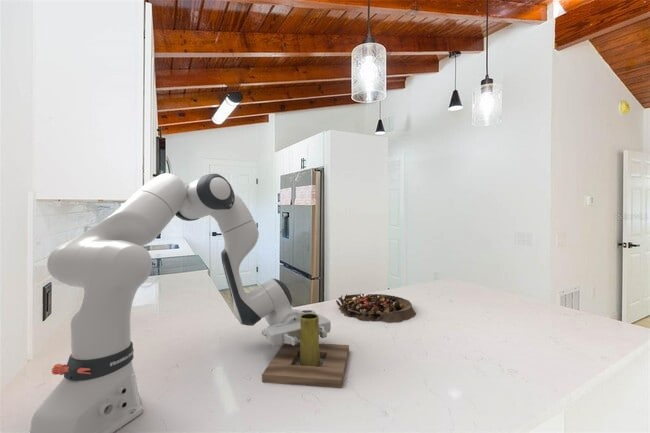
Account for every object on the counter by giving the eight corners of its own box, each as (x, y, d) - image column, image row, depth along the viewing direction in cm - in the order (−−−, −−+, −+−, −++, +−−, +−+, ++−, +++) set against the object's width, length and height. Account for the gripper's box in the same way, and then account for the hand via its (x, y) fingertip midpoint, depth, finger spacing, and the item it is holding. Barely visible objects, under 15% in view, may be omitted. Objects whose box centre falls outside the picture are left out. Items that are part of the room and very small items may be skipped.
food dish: (320, 311, 145) (320, 294, 145) (370, 299, 166) (370, 284, 166) (381, 331, 118) (380, 309, 118) (431, 313, 139) (430, 294, 139)
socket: (341, 387, 81) (341, 380, 81) (262, 381, 84) (261, 374, 84) (349, 351, 102) (349, 345, 102) (285, 347, 105) (284, 341, 105)
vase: (317, 371, 89) (316, 320, 89) (296, 368, 91) (295, 318, 91) (323, 361, 95) (322, 313, 95) (303, 358, 97) (302, 312, 97)
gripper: (259, 320, 99) (276, 335, 87) (317, 309, 109) (339, 321, 97) (259, 341, 99) (276, 358, 87) (317, 327, 109) (340, 341, 97)
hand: (310, 338), depth 92 cm, fingers open, 8 cm apart
